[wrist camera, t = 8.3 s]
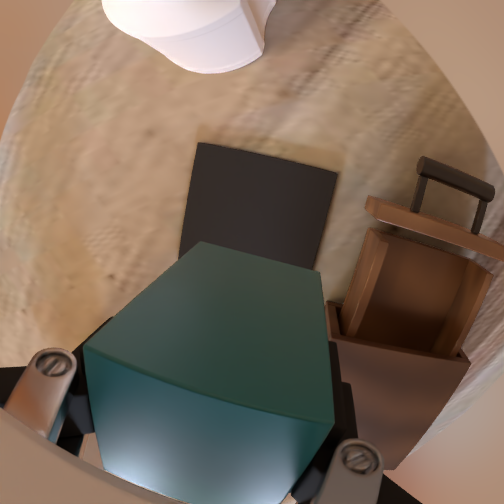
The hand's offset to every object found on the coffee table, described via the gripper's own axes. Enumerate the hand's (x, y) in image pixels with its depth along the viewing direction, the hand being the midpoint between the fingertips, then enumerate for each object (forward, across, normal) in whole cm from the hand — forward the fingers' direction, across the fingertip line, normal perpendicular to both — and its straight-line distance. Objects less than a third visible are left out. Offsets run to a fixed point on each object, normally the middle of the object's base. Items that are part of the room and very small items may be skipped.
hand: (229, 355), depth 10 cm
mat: (+18, +2, 0) cm, 18 cm away
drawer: (+17, -13, 0) cm, 22 cm away
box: (+3, 0, 0) cm, 3 cm away
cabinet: (+18, -13, +13) cm, 26 cm away
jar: (+19, +9, -18) cm, 27 cm away
